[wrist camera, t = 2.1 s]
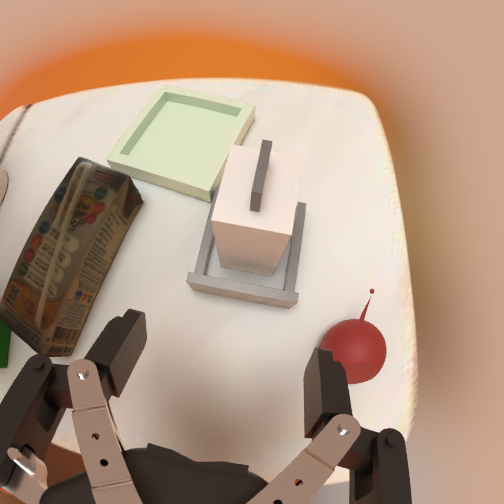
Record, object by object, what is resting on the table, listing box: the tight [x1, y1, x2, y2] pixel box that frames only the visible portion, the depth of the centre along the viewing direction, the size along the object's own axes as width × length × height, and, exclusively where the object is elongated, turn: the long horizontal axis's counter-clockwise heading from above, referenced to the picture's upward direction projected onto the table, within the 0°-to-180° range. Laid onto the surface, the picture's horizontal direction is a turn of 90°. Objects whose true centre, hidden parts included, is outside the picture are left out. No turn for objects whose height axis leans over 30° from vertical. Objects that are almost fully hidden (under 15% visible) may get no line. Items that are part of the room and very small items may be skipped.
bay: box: [186, 187, 306, 308], centre depth 27 cm, size 9×10×4 cm
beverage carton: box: [0, 157, 143, 357], centre depth 25 cm, size 8×19×7 cm, turn 157°
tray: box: [106, 85, 255, 203], centre depth 31 cm, size 13×13×2 cm
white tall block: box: [211, 140, 302, 276], centre depth 23 cm, size 5×6×13 cm
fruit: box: [320, 289, 386, 384], centre depth 24 cm, size 6×6×8 cm
